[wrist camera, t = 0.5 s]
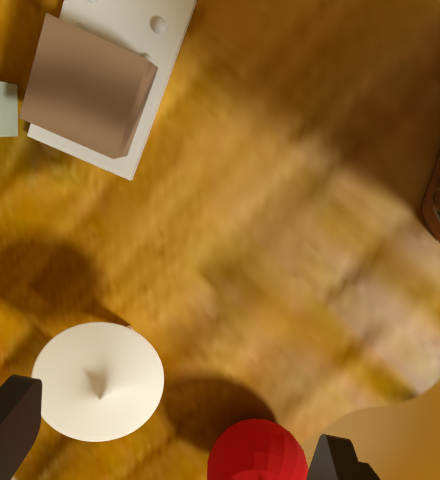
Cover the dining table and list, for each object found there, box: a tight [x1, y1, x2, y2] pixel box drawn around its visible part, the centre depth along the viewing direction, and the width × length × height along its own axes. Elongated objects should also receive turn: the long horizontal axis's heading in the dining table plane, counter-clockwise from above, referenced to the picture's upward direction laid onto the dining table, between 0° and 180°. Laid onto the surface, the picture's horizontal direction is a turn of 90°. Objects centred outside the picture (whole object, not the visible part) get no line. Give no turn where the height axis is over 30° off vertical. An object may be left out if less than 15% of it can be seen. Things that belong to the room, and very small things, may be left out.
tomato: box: [207, 418, 309, 480], centre depth 39 cm, size 10×10×10 cm
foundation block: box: [19, 13, 158, 159], centre depth 31 cm, size 8×8×4 cm
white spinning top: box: [31, 322, 164, 442], centre depth 35 cm, size 10×11×12 cm
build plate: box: [27, 0, 197, 180], centre depth 33 cm, size 16×10×1 cm, turn 157°
